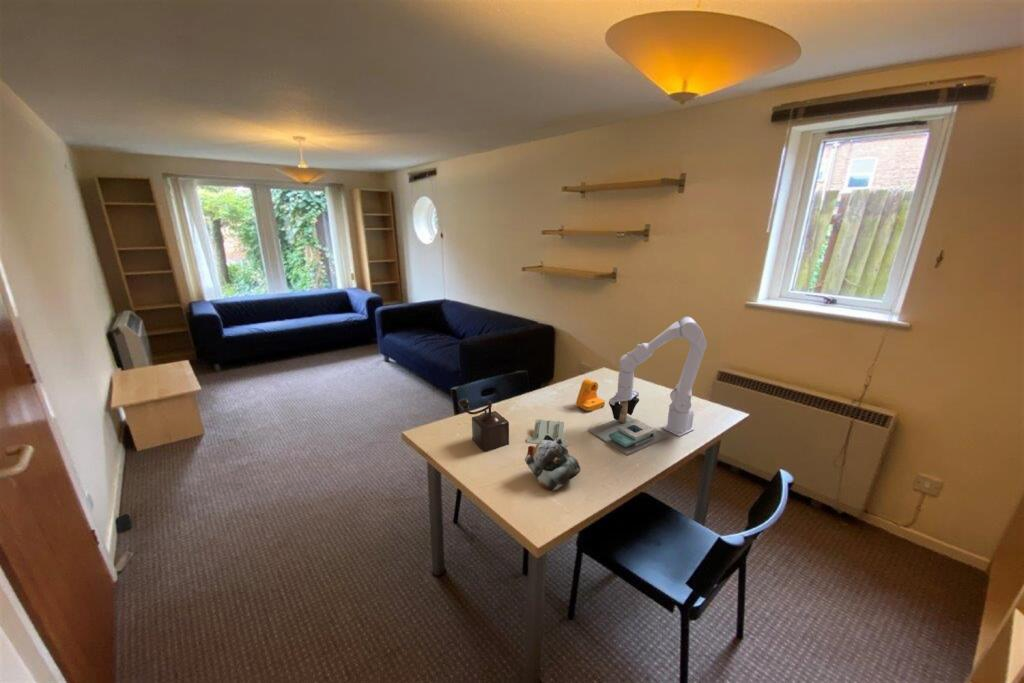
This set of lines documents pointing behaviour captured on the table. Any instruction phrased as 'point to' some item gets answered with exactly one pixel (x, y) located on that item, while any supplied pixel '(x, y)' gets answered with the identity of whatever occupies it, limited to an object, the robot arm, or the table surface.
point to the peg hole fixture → (633, 434)
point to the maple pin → (623, 412)
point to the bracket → (589, 396)
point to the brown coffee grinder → (487, 427)
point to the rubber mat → (611, 427)
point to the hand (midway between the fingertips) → (622, 416)
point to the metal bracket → (547, 431)
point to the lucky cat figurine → (551, 463)
